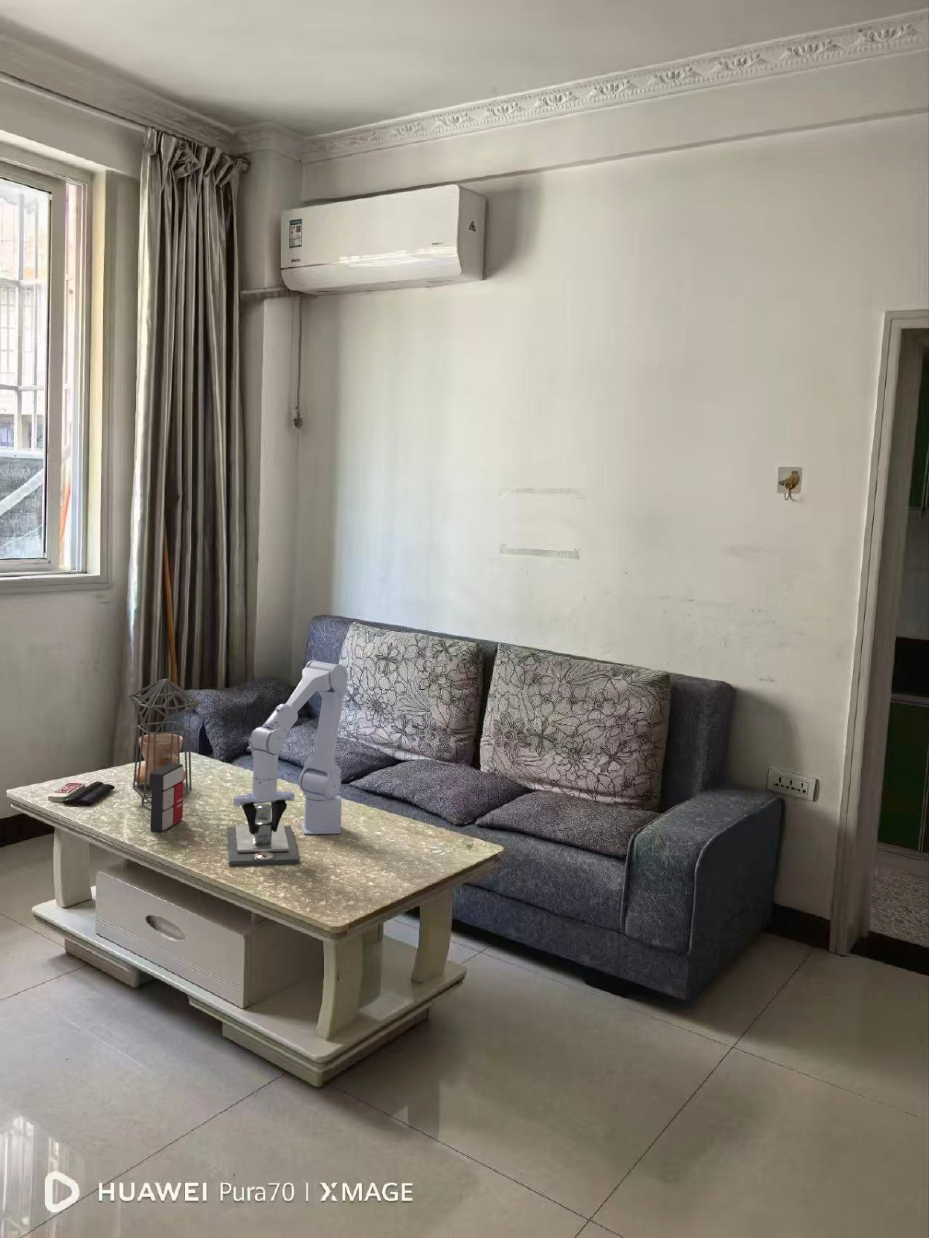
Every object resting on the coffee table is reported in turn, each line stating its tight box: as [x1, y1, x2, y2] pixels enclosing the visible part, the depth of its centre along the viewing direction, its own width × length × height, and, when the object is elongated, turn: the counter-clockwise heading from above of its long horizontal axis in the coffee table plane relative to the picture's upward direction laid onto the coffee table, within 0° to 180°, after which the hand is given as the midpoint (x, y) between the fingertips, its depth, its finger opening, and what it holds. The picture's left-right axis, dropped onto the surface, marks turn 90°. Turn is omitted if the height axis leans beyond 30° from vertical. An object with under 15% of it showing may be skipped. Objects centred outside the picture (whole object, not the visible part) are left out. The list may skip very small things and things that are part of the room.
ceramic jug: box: [135, 733, 186, 789], centre depth 287 cm, size 18×14×14 cm
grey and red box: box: [148, 763, 185, 833], centre depth 254 cm, size 11×4×15 cm, turn 168°
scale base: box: [226, 825, 300, 867], centre depth 244 cm, size 16×24×2 cm, turn 14°
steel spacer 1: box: [254, 803, 272, 821], centre depth 260 cm, size 4×4×5 cm
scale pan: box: [234, 823, 289, 852], centre depth 245 cm, size 12×18×1 cm, turn 14°
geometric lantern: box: [126, 678, 202, 811], centre depth 268 cm, size 16×16×35 cm
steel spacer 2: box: [253, 820, 273, 846], centre depth 241 cm, size 4×4×5 cm
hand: (263, 831), depth 240 cm, fingers open, 5 cm apart
